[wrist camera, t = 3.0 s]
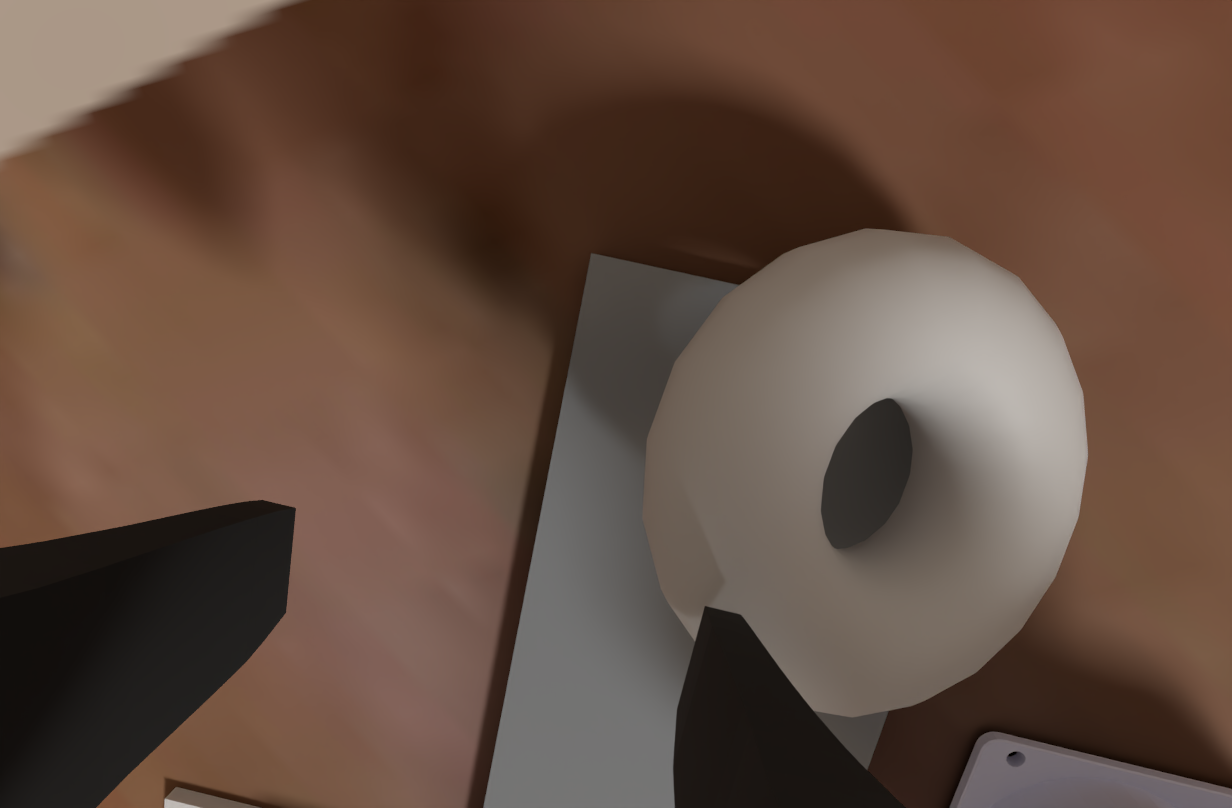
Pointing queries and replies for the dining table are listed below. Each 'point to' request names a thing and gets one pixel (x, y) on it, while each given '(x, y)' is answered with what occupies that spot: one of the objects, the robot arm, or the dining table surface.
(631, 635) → the slate board
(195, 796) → the turner
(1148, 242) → the dining table surface
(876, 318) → the donut
